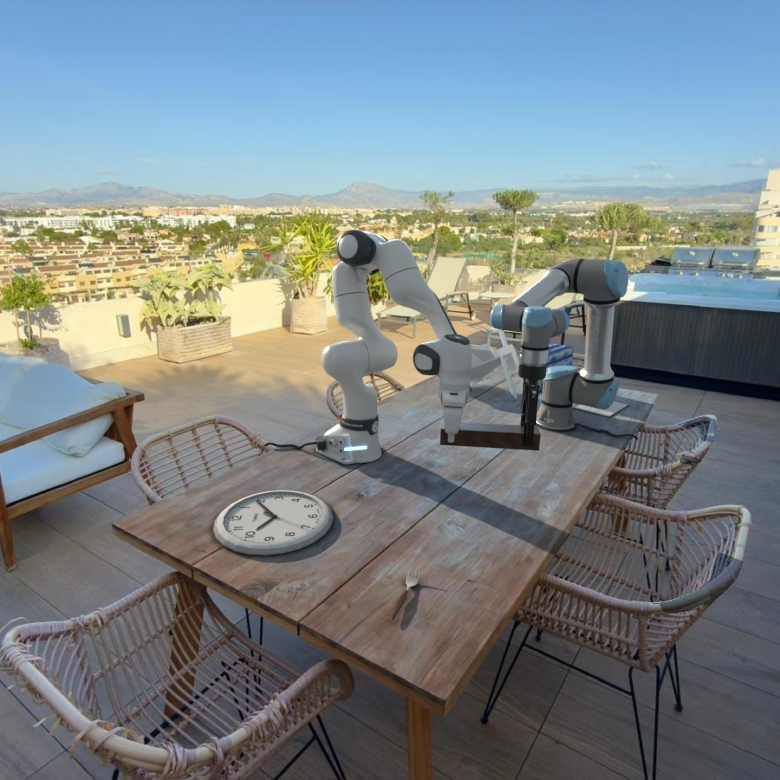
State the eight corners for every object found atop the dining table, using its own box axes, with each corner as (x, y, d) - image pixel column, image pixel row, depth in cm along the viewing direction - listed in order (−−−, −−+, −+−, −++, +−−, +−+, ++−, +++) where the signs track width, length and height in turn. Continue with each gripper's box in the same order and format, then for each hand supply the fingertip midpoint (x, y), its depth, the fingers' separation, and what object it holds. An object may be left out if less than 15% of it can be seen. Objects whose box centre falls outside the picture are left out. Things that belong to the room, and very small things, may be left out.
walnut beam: (535, 442, 154) (537, 426, 153) (539, 450, 148) (540, 434, 147) (440, 436, 157) (441, 421, 156) (439, 445, 151) (440, 428, 150)
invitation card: (608, 416, 214) (573, 407, 224) (608, 416, 214) (573, 408, 224) (628, 404, 229) (594, 396, 238) (628, 405, 229) (594, 397, 238)
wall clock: (331, 546, 121) (198, 551, 119) (331, 552, 122) (199, 557, 119) (333, 485, 150) (227, 488, 147) (334, 490, 150) (227, 493, 148)
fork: (385, 619, 101) (385, 611, 101) (410, 571, 116) (411, 563, 115) (398, 623, 100) (398, 614, 100) (422, 574, 115) (422, 566, 114)
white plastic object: (461, 429, 252) (437, 405, 227) (444, 352, 274) (420, 323, 250) (535, 404, 240) (518, 377, 215) (510, 326, 262) (492, 293, 237)
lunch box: (545, 396, 239) (550, 351, 232) (524, 391, 246) (528, 347, 240) (572, 385, 256) (577, 343, 250) (552, 380, 263) (557, 339, 257)
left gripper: (443, 380, 159) (441, 422, 164) (441, 402, 140) (439, 449, 144) (464, 381, 159) (461, 424, 163) (465, 403, 139) (462, 451, 144)
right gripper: (515, 354, 154) (509, 427, 161) (523, 371, 135) (516, 453, 142) (541, 355, 153) (534, 429, 160) (553, 373, 135) (544, 455, 141)
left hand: (450, 436), depth 153 cm, fingers closed on walnut beam, 6 cm apart
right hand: (525, 440), depth 151 cm, fingers closed on walnut beam, 6 cm apart
